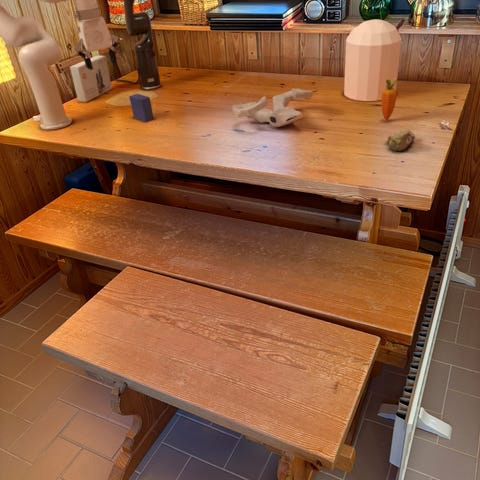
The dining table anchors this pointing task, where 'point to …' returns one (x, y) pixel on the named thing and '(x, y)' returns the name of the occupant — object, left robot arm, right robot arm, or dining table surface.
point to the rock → (400, 140)
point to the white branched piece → (280, 112)
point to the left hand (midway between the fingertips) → (102, 65)
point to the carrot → (388, 99)
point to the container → (371, 60)
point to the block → (141, 107)
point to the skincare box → (91, 78)
